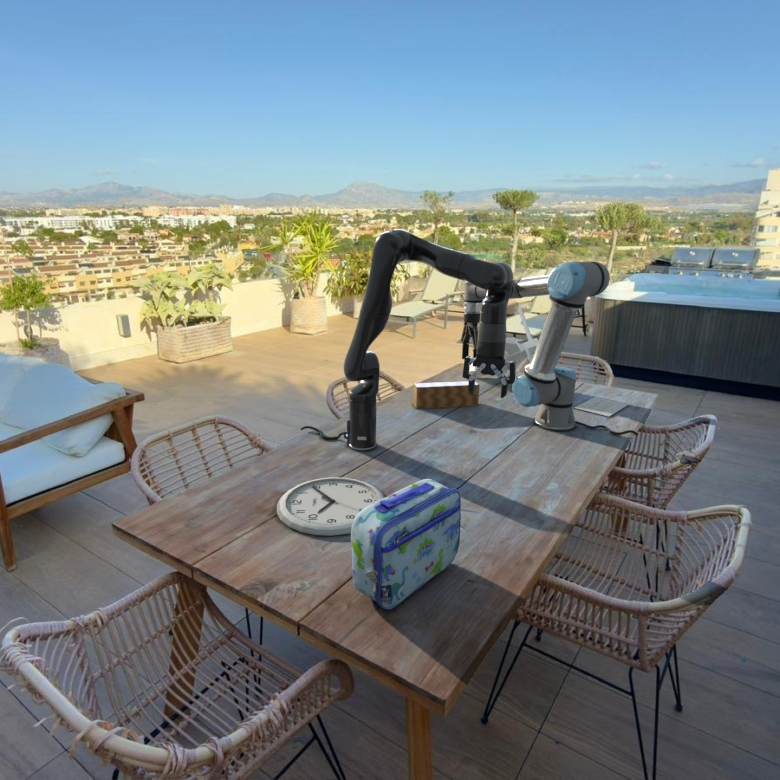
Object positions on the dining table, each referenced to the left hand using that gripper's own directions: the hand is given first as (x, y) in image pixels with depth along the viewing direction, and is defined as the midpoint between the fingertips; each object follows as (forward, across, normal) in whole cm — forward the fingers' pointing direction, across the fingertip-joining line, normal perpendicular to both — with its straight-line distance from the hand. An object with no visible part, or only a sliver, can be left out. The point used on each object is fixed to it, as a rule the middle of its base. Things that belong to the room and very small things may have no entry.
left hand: (487, 395), depth 146 cm
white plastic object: (+28, -12, +111) cm, 116 cm away
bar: (+28, -30, +68) cm, 79 cm away
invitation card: (+28, +32, +93) cm, 103 cm away
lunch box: (+28, -5, -49) cm, 57 cm away
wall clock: (+28, -35, -27) cm, 53 cm away
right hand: (+10, -22, +73) cm, 76 cm away
